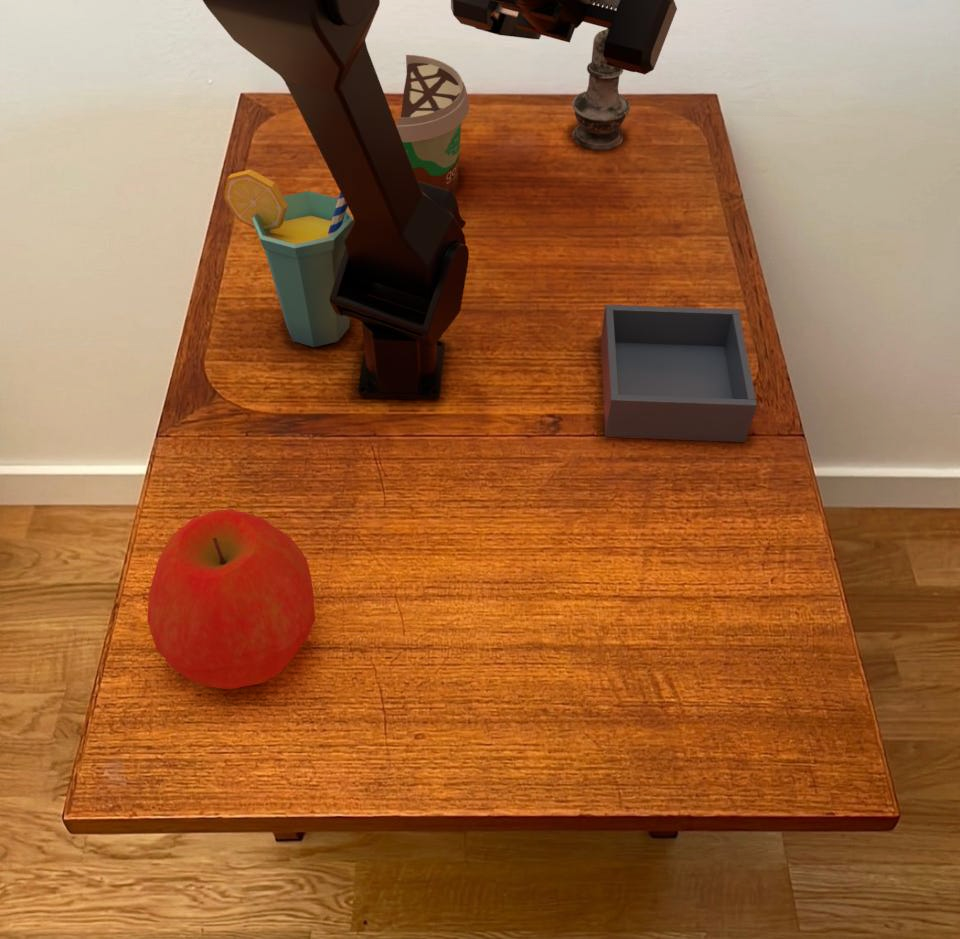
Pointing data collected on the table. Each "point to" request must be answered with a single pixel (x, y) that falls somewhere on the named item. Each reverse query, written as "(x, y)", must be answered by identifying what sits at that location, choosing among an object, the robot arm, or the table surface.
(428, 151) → the food container
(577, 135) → the grey stone upright piece
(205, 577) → the apple
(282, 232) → the cup
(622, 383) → the grey open tray box
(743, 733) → the table surface
